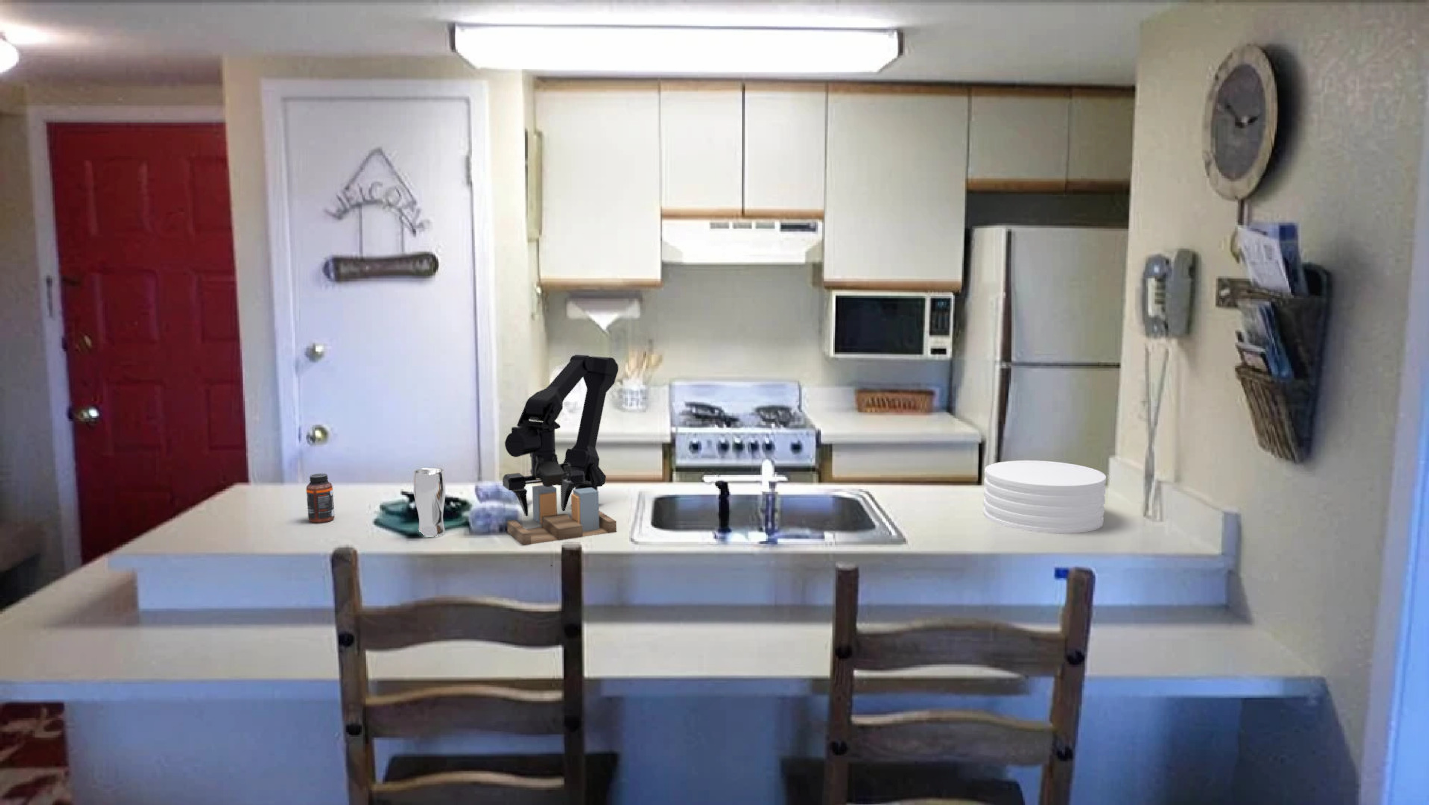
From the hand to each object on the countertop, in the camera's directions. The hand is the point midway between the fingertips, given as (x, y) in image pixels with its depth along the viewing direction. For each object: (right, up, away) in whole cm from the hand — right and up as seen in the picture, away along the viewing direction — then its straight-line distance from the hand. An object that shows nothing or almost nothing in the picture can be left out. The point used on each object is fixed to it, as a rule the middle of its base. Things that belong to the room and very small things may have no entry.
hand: (545, 513), depth 234 cm
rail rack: (+6, -4, -10) cm, 12 cm away
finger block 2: (+11, -3, -7) cm, 14 cm away
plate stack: (+121, -2, +5) cm, 121 cm away
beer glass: (-25, -4, -8) cm, 26 cm away
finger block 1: (0, -3, 0) cm, 3 cm away
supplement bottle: (-55, -2, +4) cm, 55 cm away
